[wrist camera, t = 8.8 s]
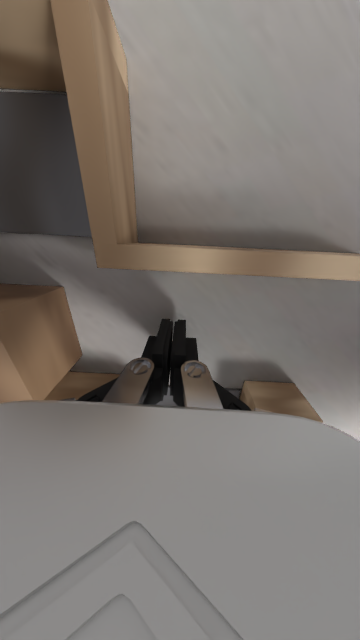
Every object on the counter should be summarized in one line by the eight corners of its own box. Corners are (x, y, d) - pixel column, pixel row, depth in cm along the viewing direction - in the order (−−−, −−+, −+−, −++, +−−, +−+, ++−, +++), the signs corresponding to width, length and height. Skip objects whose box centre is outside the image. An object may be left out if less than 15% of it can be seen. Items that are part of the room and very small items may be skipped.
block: (64, 286, 11) (-12, 316, 7) (83, 354, 14) (36, 407, 10) (-21, 282, 12) (-151, 309, 7) (14, 350, 14) (-64, 402, 10)
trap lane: (447, 74, 7) (668, -65, 4) (268, 434, 18) (286, 473, 15) (-170, 44, 7) (-465, -118, 4) (39, 422, 18) (10, 459, 15)
